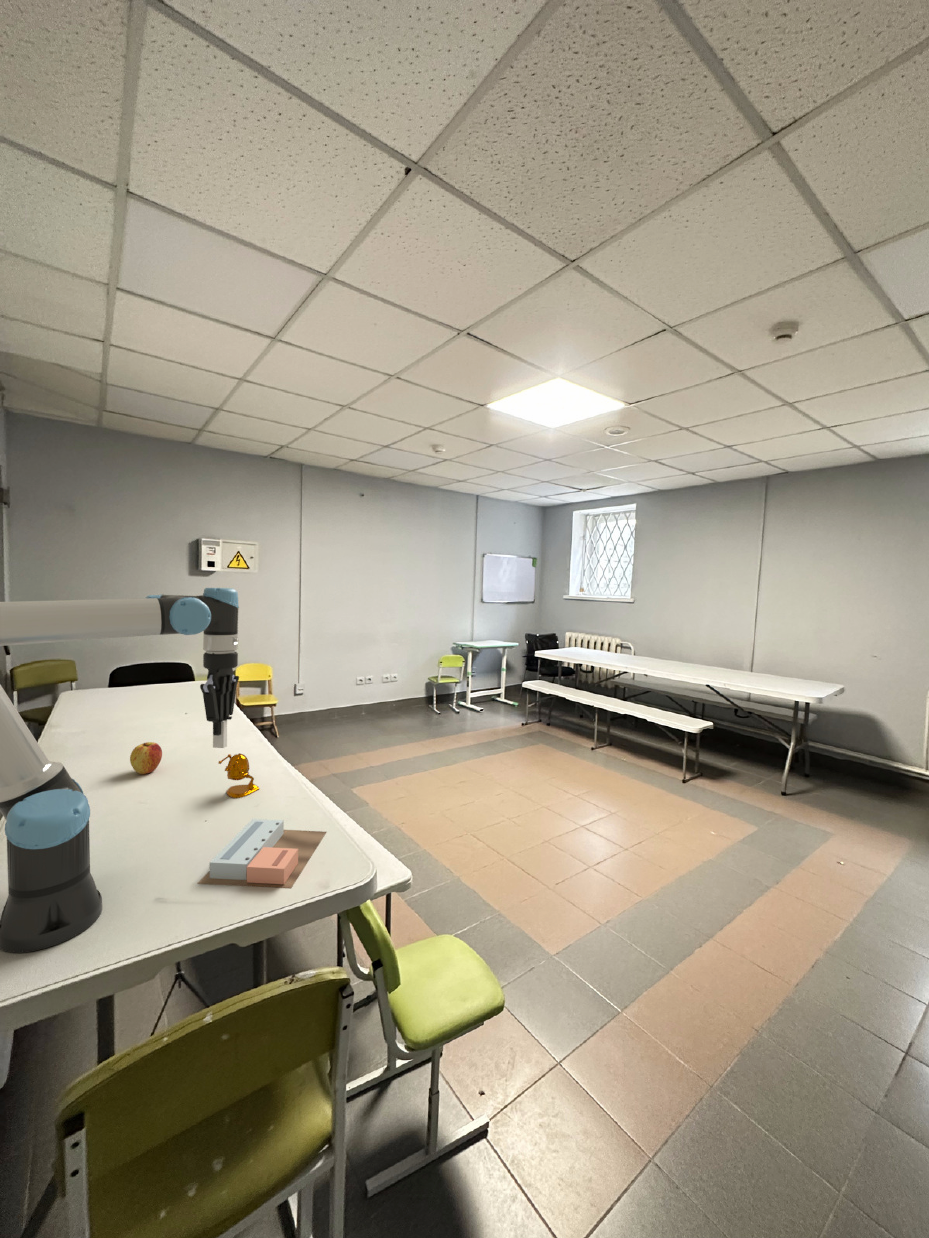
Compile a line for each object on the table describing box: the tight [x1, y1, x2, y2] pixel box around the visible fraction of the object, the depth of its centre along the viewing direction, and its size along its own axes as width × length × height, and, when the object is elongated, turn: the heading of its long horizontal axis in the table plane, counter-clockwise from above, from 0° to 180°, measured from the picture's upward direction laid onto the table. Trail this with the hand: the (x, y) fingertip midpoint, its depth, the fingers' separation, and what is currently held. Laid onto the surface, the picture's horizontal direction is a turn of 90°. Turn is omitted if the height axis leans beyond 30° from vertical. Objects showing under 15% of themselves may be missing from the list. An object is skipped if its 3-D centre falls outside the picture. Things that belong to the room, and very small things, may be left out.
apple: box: [129, 741, 163, 775], centre depth 165 cm, size 9×9×10 cm
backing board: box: [197, 829, 328, 889], centre depth 116 cm, size 24×20×1 cm
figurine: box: [217, 753, 260, 799], centre depth 152 cm, size 8×11×12 cm
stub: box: [247, 847, 298, 884], centre depth 109 cm, size 8×8×4 cm
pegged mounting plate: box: [209, 818, 285, 880], centre depth 116 cm, size 20×8×4 cm, turn 178°
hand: (219, 746), depth 122 cm, fingers closed
